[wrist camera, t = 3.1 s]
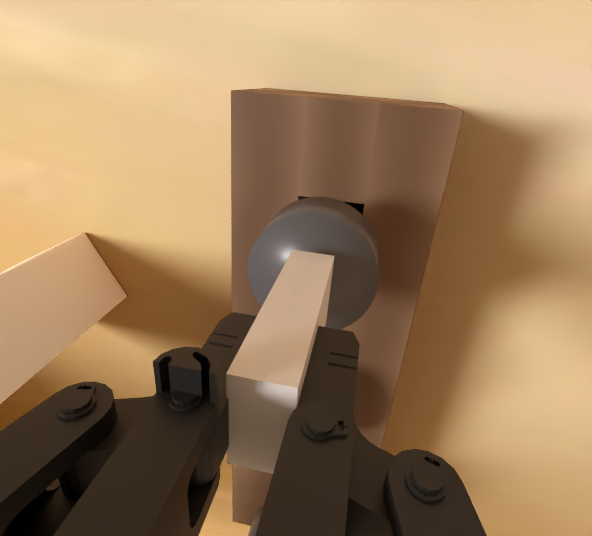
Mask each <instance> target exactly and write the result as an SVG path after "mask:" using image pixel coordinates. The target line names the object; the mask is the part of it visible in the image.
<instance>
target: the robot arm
mask: <svg viewBox="0 0 592 536" xmlns="http://www.w3.org/2000/svg"><path fill="white" fill-rule="evenodd" d="M333 264H334V256H332V255H325V254H319V253H312V252H305V251H298V250H292V251H291V253H290V255H289V257H288V259H287V261H286V263H285V265H284V266H283V268H282V270H281V272H280V274H279V276H278V278H277V280H276V281H275V283H274V285H273V287H272V289H271V291H270V293H269V295H268V296H267V298H266V300H265V302H264V304H263V306H262V308H261V310H260V311H259V313H258V315H257V316H253V315H247V314H241V313H236V312H233V313H231V314H230V315H228V316H227V317H225V318H224V319H222V320H220V322H219V323H218V325H217V326H216V328H215V329H214V331H213V334H211V335H210V337H209V338H208V340H207V342H206V343H205V344H204V346H203V347H202V349H200V348H197V347H182V348H176V349H172V350H170V351H168V352H165V353H163V354H161V355H160V356H159V357H158V358H156V359H155V360H154V361H153V366H154V374H155V383H156V391H157V392H156V394H155V395H154V396H150V397H143V398H129V399H114V396H113V392H112V390H111V389H110V388H109V387H108V386H106V385H105V384H101V383H97V382H82V383H78V384H75V385H71V386H68V387H66V388H64V389H62V390H61V391H59V392H57V393H55V394H54V395H52V396H51V397H49V398H48V399H46V400H45V401H44V402H42V403H41V404H39V405H38V406H36V407H35V408H33V409H32V410H31V411H29V412H28V413H26V414H25V415H23V416H22V417H20V418H19V419H18V420H16V421H15V422H13V423H12V424H10V425H9V426H7V427H6V428H5V429H3V430H2V431H0V536H198V535H199V533H200V530H201V528H202V525H203V523H204V520H205V518H206V515H207V513H208V510H209V508H210V505H211V503H212V500H213V498H214V495H215V493H216V490H217V488H218V485H219V479H220V465H221V463H222V460H223V458H224V455H225V453H226V451H227V463H229V464H233V465H238V466H242V467H246V468H250V469H255V470H259V471H263V472H267V473H272V474H273V475H272V478H271V482H270V485H269V489H268V492H267V496H266V499H265V503H264V507H263V510H262V514H261V517H260V521H259V524H258V528H257V531H256V535H255V536H487V535H486V533H485V531H484V529H483V526H482V524H481V522H480V520H479V518H478V515H477V513H476V511H475V509H474V506H473V504H472V502H471V500H470V497H469V495H468V493H467V491H466V488H465V486H464V484H463V482H462V480H461V479H460V477H459V476H458V474H457V473H456V471H455V469H454V468H452V467H451V466H450V465H449V464H448V463H447V462H446V461H445V460H443V459H442V458H440V457H438V456H436V455H434V454H432V453H430V452H428V451H423V450H417V449H411V450H406V451H402V452H400V453H399V454H397V455H396V456H394V455H392V454H390V453H388V452H386V451H384V450H382V449H380V448H379V447H377V446H375V445H374V444H372V443H371V442H369V441H368V440H367V439H366V438H365V437H364V436H363V435H362V433H361V432H360V431H359V429H358V428H357V425H356V423H355V420H354V403H355V391H356V380H357V368H358V357H359V346H360V344H359V342H358V340H357V338H356V336H355V334H354V332H351V331H346V330H340V329H334V328H328V327H325V324H326V319H327V311H328V303H329V296H330V288H331V280H332V272H333Z"/></svg>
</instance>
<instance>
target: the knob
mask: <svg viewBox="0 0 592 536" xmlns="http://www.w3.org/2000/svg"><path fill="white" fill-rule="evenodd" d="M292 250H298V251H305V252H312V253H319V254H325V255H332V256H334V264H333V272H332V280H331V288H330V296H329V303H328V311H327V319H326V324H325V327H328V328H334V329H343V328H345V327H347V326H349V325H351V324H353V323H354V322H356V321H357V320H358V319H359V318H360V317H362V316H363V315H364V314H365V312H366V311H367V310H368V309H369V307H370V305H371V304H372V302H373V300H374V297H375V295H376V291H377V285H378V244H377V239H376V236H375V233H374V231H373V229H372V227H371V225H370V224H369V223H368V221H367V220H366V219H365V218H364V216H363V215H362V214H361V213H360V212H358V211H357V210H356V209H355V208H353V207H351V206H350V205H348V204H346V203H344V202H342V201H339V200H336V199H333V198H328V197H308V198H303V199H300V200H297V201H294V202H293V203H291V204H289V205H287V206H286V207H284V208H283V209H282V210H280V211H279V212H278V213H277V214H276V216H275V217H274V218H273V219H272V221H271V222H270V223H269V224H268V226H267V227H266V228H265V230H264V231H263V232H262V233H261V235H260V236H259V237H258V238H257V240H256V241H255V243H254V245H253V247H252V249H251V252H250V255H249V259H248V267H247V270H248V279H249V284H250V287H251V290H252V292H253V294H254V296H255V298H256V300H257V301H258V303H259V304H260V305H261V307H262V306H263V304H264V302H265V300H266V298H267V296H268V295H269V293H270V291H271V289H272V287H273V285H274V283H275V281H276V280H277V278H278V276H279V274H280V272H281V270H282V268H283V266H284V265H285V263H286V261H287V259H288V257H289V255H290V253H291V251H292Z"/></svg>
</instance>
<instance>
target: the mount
mask: <svg viewBox="0 0 592 536" xmlns="http://www.w3.org/2000/svg"><path fill="white" fill-rule="evenodd" d="M463 112H464V111H463V110H460V109H457V108H455V107H452V106H449V105H446V104H444V103H434V102H422V101H410V100H399V99H387V98H375V97H363V96H352V95H340V94H328V93H317V92H305V91H293V90H281V89H270V88H262V89H247V90H232V91H231V199H232V313H233V312H236V313H241V314H247V315H253V316H257V315H258V313H259V311H260V310H261V308H262V307H261V305H260V304H259V303H258V301H257V300H256V298H255V296H254V294H253V292H252V290H251V287H250V284H249V279H248V270H247V267H248V259H249V255H250V252H251V249H252V247H253V245H254V243H255V241H256V240H257V238H258V237H259V236H260V235H261V233H262V232H263V231H264V230H265V228H266V227H267V226H268V224H269V223H270V222H271V221H272V219H273V218H274V217H275V216H276V214H277V213H278V212H279V211H280V210H282V209H283V208H284V207H286V206H287V205H289V204H291V203H293V202H294V201H297V200H300V199H303V198H308V197H328V198H333V199H336V200H339V201H344V202H352V203H360V204H364V208H363V214H362V215H363V216H364V218H365V219H366V220H367V221H368V223H369V224H370V225H371V227H372V229H373V231H374V233H375V236H376V239H377V244H378V285H377V291H376V295H375V297H374V300H373V302H372V304H371V305H370V307H369V309H368V310H367V311H366V312H365V314H364V315H363V316H362V317H360V318H359V319H358V320H357V321H356V322H354V323H353V324H351V325H349V326H347V327H345V328H343V329H340V330H346V331H351V332H354V334H355V336H356V338H357V340H358V342H359V344H360V346H359V357H358V368H357V380H356V391H355V403H354V420H355V423H356V425H357V428H358V429H359V431H360V432H361V433H362V435H363V436H364V437H365V438H366V439H367V440H368V441H369V442H371V443H372V444H374V445H375V446H377V447H379V448H380V449H381V446H382V442H383V438H384V434H385V430H386V426H387V422H388V418H389V414H390V409H391V405H392V401H393V397H394V393H395V389H396V385H397V381H398V377H399V373H400V369H401V365H402V361H403V356H404V352H405V348H406V344H407V340H408V336H409V332H410V328H411V324H412V320H413V316H414V312H415V308H416V304H417V299H418V295H419V291H420V287H421V283H422V279H423V275H424V271H425V267H426V263H427V259H428V255H429V251H430V246H431V242H432V238H433V234H434V230H435V226H436V222H437V218H438V214H439V210H440V206H441V202H442V198H443V193H444V189H445V185H446V181H447V177H448V173H449V169H450V165H451V161H452V157H453V153H454V149H455V145H456V140H457V136H458V132H459V128H460V124H461V120H462V116H463ZM232 465H233V464H232ZM272 475H273V474H272V473H267V472H263V471H259V470H255V469H250V468H246V467H242V466H238V465H233V521H234V522H238V523H242V524H246V525H250V526H251V525H252V522H253V518H254V515H255V512H256V511H257V510H258V509H259V508H260V507H261V506H263V505H264V503H265V499H266V496H267V492H268V489H269V485H270V482H271V478H272Z"/></svg>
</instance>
